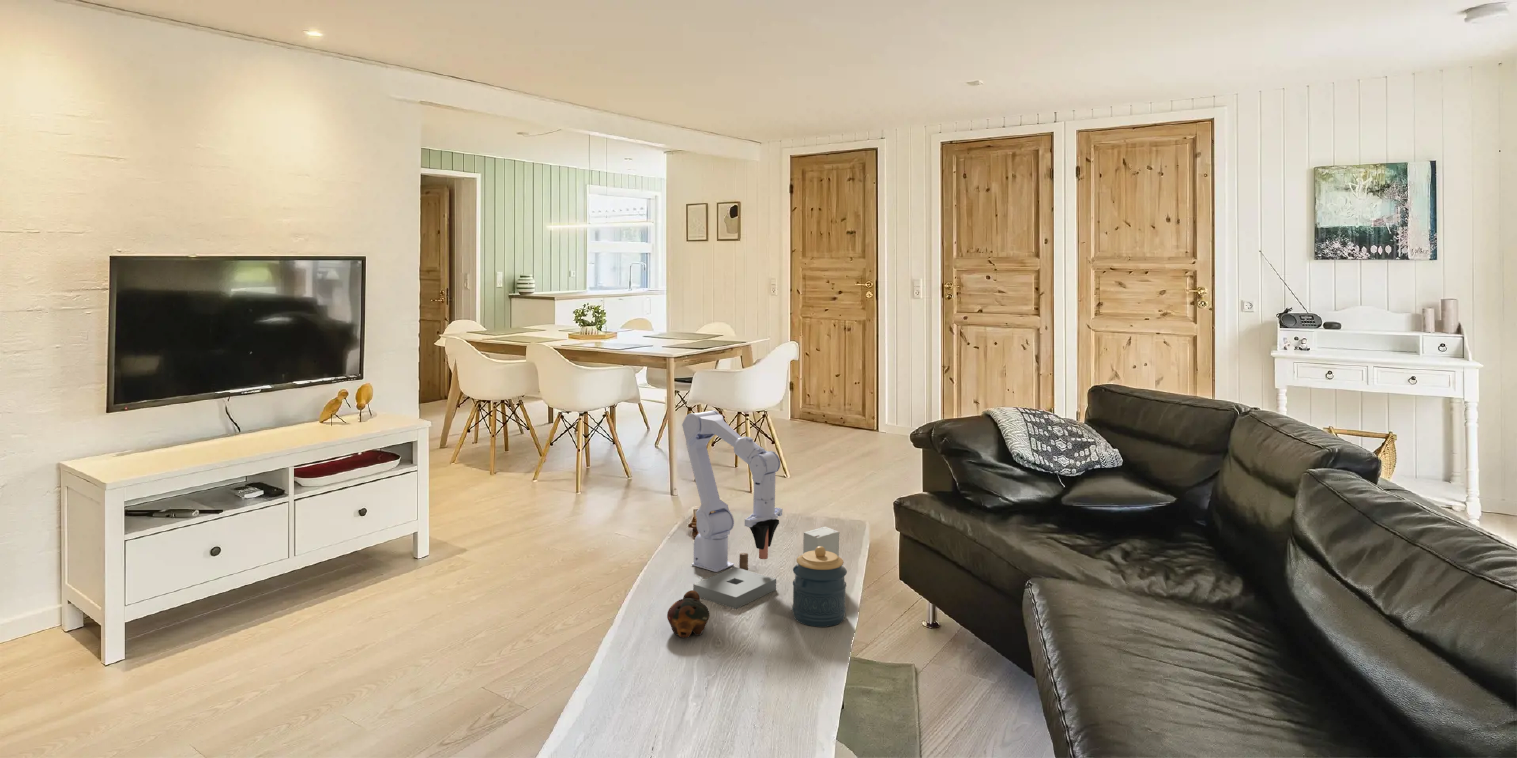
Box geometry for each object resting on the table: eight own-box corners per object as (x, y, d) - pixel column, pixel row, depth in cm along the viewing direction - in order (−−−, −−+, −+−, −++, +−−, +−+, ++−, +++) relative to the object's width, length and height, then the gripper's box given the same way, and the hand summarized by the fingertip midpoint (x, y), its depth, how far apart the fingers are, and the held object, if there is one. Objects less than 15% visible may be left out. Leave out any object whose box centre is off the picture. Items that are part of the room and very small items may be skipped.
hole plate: (693, 595, 218) (693, 584, 217) (734, 577, 231) (734, 566, 231) (735, 609, 209) (735, 597, 209) (776, 589, 223) (776, 578, 222)
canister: (812, 602, 214) (814, 535, 212) (855, 616, 206) (858, 545, 204) (781, 618, 204) (782, 547, 202) (825, 632, 196) (827, 559, 194)
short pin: (737, 569, 237) (737, 554, 237) (742, 567, 239) (743, 552, 238) (744, 571, 236) (744, 556, 235) (749, 569, 238) (749, 554, 237)
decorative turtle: (709, 618, 203) (711, 587, 202) (707, 650, 188) (709, 616, 187) (668, 616, 203) (670, 585, 201) (663, 647, 188) (665, 614, 187)
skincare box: (823, 578, 232) (825, 525, 230) (839, 584, 227) (840, 530, 225) (801, 584, 226) (802, 530, 225) (816, 591, 222) (817, 536, 220)
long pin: (757, 558, 226) (757, 528, 225) (762, 555, 228) (762, 526, 227) (764, 559, 225) (764, 530, 224) (769, 557, 227) (770, 528, 226)
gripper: (760, 505, 216) (759, 557, 218) (792, 494, 228) (790, 543, 230) (738, 501, 220) (737, 551, 222) (770, 490, 232) (769, 538, 234)
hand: (763, 547), depth 226 cm, fingers closed on long pin, 2 cm apart
